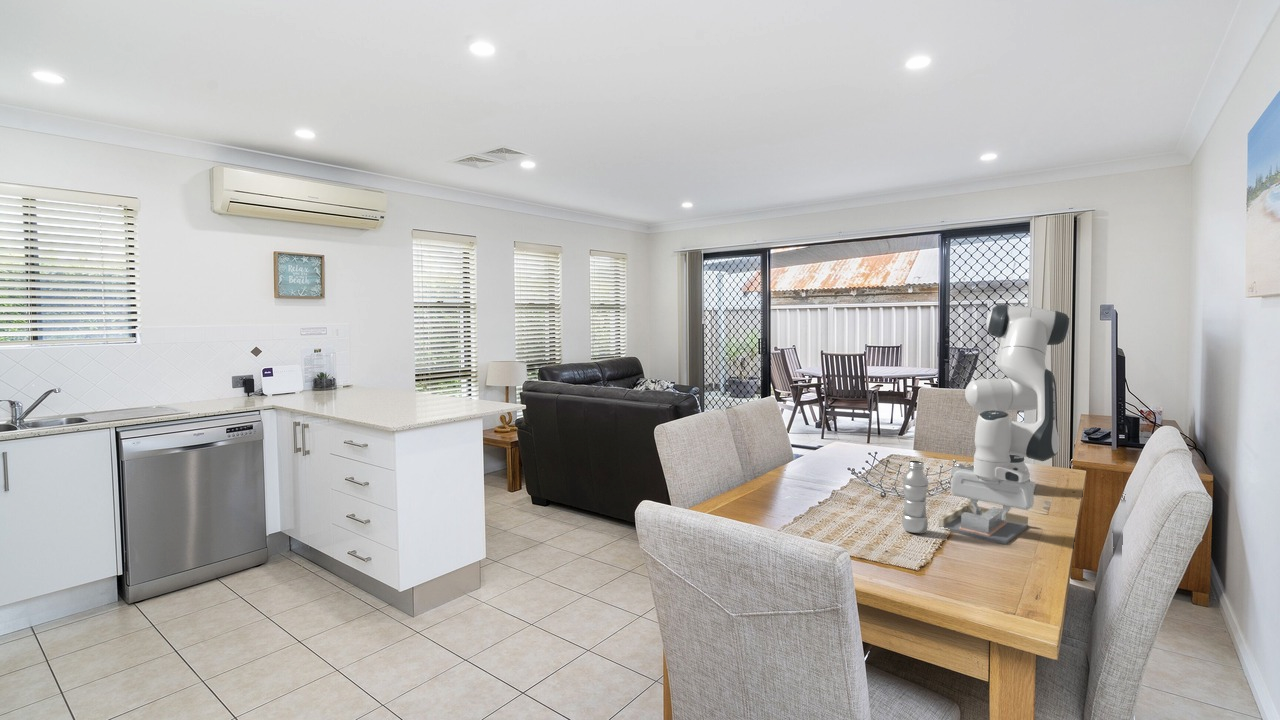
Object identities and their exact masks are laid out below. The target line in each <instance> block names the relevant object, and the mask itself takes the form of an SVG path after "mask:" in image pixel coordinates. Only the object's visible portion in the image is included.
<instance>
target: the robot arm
mask: <svg viewBox="0 0 1280 720" xmlns="http://www.w3.org/2000/svg"><path fill="white" fill-rule="evenodd" d="M1070 321H1071V320H1070V317H1069V316H1068V314H1066V313H1065V312H1061V311H1058V310H1055V311H1054V310H1049V309H1045V308H1040V307H1033V306H1031V307H1030V306H1017V305H1015V306H1014V305H1008V304H1000V305H995V306H994V307H992V309H991V311H989V313H988V315H987V317H986V321H985V324H986V329H987V333H989V335H991V336H993V337H994V338H998V339H1000V338H1001V339H1000V342H999V347H998V349H997V350H998V351H997V355H996V358H995V365H996V367H997V369H999V370H1000V371H1001V372H1002V373H1003V375H1004V376H1006V377H1007V378H980V379H974V380H971V381H970V382H969V383H967V385H966V387H965V391H964V398H965V400H966V402H967V404H968V405H969V406H970V407H971V408H973V409H974V410H975V411H976V412H977V413H978V415H977V418H976V424H975V430H974V445H975V451H974V455H973V465H969V464H968V465H967V464H962V463H957V464H955V465H953V466H952V468H951V476H952V480H951V485H950V492H951V494H952V495H953V496H955V497H956V496H957V497H960V498H966V499H970V505H972V506H973V508H974V514H977V515H982V509H981V508H979V507H978V506H979V505H978V502H985V503H991V504H994V505H1000V506H1002V509H1005V511H1004V512H1003V513H999V514H998V520H1001V521H1005V520H1006V514H1007V513H1009V511H1010V510H1011V509H1012V508H1015V509H1021V510H1026V511H1028V510H1030V509H1031V508H1033V506H1034V504H1035V500H1034V499H1035V498H1034V497H1035V496H1034V493H1035V489H1036V485H1037V484H1036V482H1035V481H1032V480H1031V479H1030V477H1031V473H1030V471H1029V470H1030V469H1029V467H1028V466H1027V464H1026V463H1025V458H1028V459H1032V460H1036V461H1039V462H1045V461H1048V460H1050V459H1052V458H1053V457H1055V456H1056V455H1058V452H1059V449H1060V437H1059V429H1058V405H1057V404H1058V401H1057V399H1058V397H1057V383H1056V378H1055V375H1054V373H1053V372H1052V371H1051V370H1050V369H1048V368H1047V366H1046V363H1045V362H1046V354H1047V347H1048V346H1057V345H1060V344H1062V343H1064V342H1065V340H1066V338H1068V336H1069V334H1070V331H1071V322H1070ZM1035 410H1037V420H1036V421H1035V422H1033V423H1031V422H1023V421H1016V420H1011V418H1010V415H1009V414H1008V412H1006V411H1023V412H1024V411H1025V412H1026V411H1035Z"/></svg>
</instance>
